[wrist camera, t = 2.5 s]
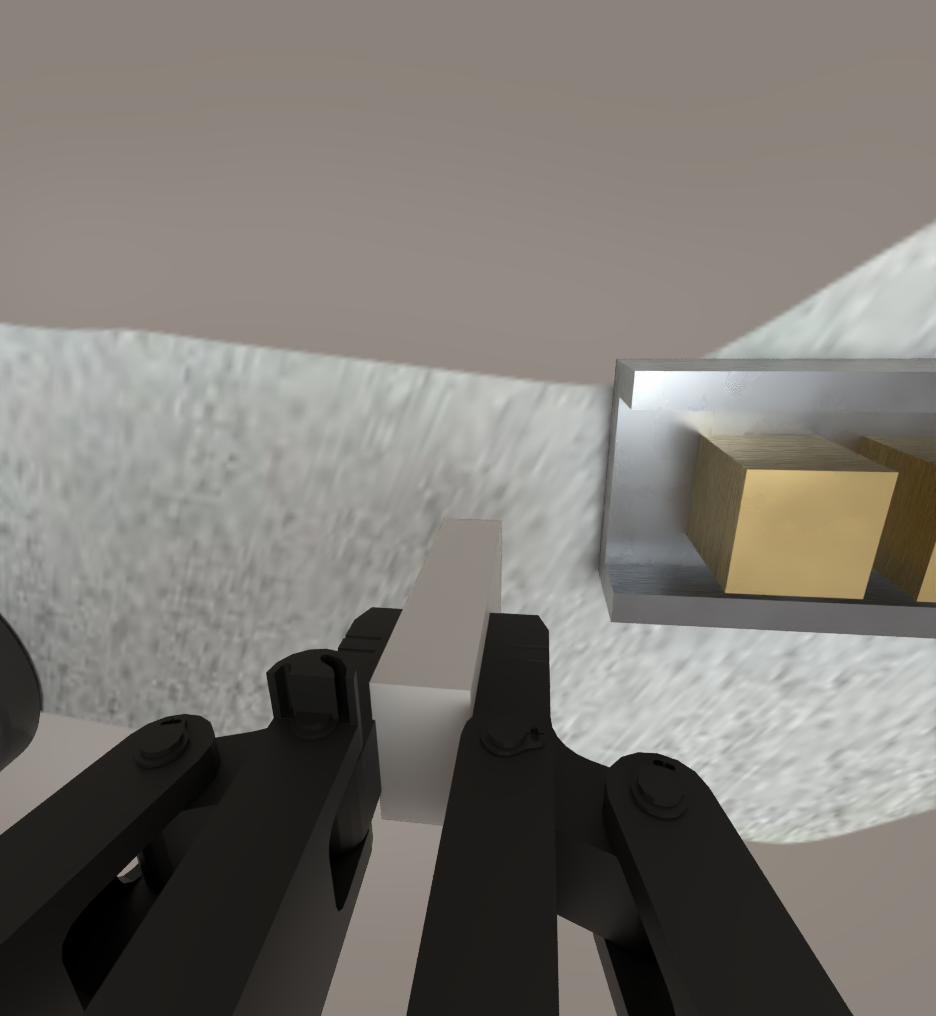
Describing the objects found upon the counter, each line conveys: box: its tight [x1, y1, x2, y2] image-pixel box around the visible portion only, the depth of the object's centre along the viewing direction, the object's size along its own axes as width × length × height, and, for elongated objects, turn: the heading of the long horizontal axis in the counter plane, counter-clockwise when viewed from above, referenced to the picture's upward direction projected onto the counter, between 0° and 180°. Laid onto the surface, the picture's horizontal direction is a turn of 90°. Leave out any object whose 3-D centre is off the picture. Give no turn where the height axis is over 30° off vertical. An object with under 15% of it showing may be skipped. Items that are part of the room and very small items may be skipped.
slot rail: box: [599, 359, 936, 638], centre depth 19 cm, size 17×9×4 cm, turn 90°
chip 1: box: [687, 434, 899, 599], centre depth 18 cm, size 4×4×4 cm
